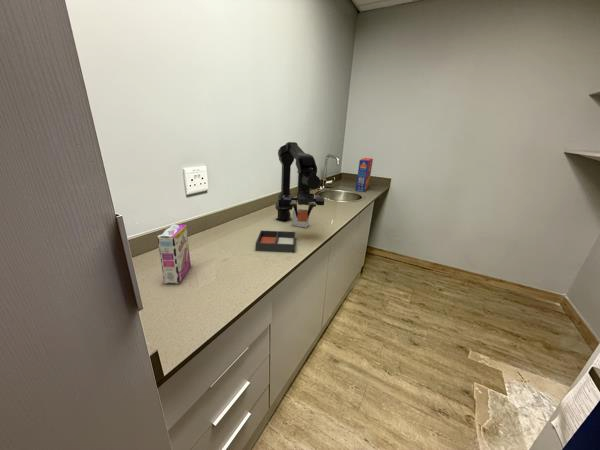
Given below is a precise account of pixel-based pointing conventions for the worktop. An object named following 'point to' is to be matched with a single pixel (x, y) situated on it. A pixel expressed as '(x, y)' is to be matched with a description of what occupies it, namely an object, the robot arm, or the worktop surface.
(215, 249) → the worktop surface
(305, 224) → the medicine box
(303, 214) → the terracotta block
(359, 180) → the pasta box
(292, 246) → the tray
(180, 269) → the candy bar box
